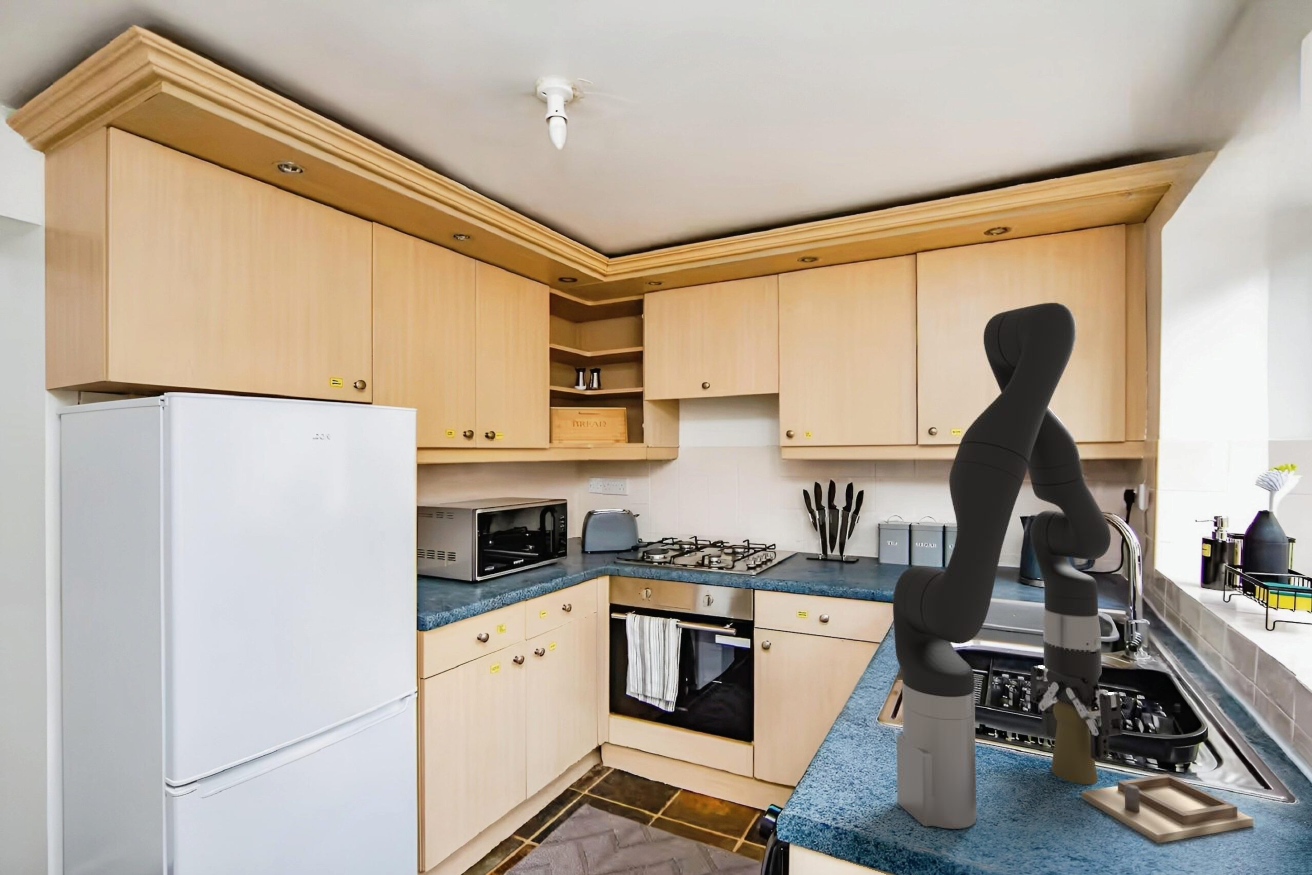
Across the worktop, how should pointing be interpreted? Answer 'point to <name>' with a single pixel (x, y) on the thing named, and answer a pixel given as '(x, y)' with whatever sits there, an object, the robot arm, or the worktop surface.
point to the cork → (1072, 746)
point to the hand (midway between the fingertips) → (1074, 746)
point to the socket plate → (1167, 808)
